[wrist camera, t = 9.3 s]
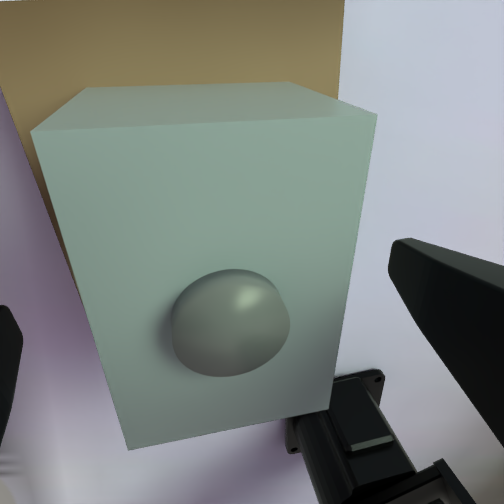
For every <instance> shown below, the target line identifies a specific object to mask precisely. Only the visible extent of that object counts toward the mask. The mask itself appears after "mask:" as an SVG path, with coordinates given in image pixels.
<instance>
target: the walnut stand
mask: <svg viewBox="0 0 504 504" xmlns="http://www.w3.org/2000/svg"><path fill="white" fill-rule="evenodd" d="M344 3H345V0H20V1H0V87H1V90H2V92H3V95H4V98H5V100H6V103H7V106H8V108H9V111H10V114H11V116H12V119H13V121H14V124H15V127H16V129H17V132H18V135H19V137H20V140H21V143H22V145H23V148H24V151H25V153H26V156H27V159H28V161H29V164H30V166H31V169H32V172H33V174H34V177H35V180H36V182H37V185H38V188H39V190H40V193H41V196H42V198H43V201H44V204H45V206H46V209H47V211H48V214H49V217H50V219H51V222H52V225H53V227H54V230H55V233H56V235H57V238H58V241H59V243H60V246H61V248H62V251H63V254H64V256H65V259H66V262H67V264H68V267H69V270H70V272H71V275H72V278H73V280H74V283H75V286H76V288H77V291H78V293H79V296H80V299H81V295H80V292H79V289H78V286H77V282H76V279H75V276H74V273H73V269H72V266H71V263H70V260H69V256H68V253H67V250H66V247H65V243H64V240H63V237H62V234H61V230H60V227H59V224H58V221H57V217H56V214H55V211H54V208H53V204H52V201H51V198H50V195H49V191H48V188H47V185H46V182H45V178H44V175H43V172H42V169H41V165H40V162H39V159H38V156H37V152H36V149H35V146H34V143H33V139H32V136H31V133H30V131H32V130H33V129H34V128H35V127H37V126H38V125H39V124H40V123H42V122H43V121H44V120H45V119H47V118H48V117H49V116H51V115H52V114H53V113H54V112H56V111H57V110H58V109H59V108H61V107H62V106H63V105H65V104H66V103H67V102H68V101H70V100H71V99H72V98H73V97H75V96H76V95H77V94H78V93H80V92H81V91H82V90H84V89H85V88H87V87H122V86H156V85H190V84H224V83H259V82H292V83H295V84H297V85H300V86H303V87H305V88H308V89H311V90H313V91H316V92H319V93H321V94H324V95H327V96H329V97H332V98H335V99H337V100H338V90H339V75H340V61H341V46H342V32H343V17H344ZM81 301H82V299H81ZM82 304H83V302H82ZM83 307H84V305H83ZM84 309H85V308H84Z"/></svg>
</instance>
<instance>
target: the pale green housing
mask: <svg viewBox="0 0 504 504" xmlns="http://www.w3.org/2000/svg"><path fill="white" fill-rule="evenodd" d="M376 121H377V114H375V113H372V112H369V111H367V110H364V109H361V108H359V107H356V106H353V105H351V104H348V103H345V102H343V101H340V100H337V99H335V98H332V97H329V96H327V95H324V94H321V93H319V92H316V91H313V90H311V89H308V88H305V87H303V86H300V85H297V84H295V83H292V82H259V83H224V84H190V85H156V86H122V87H87V88H85V89H84V90H82V91H81V92H80V93H78V94H77V95H76V96H75V97H73V98H72V99H71V100H70V101H68V102H67V103H66V104H65V105H63V106H62V107H61V108H59V109H58V110H57V111H56V112H54V113H53V114H52V115H51V116H49V117H48V118H47V119H45V120H44V121H43V122H42V123H40V124H39V125H38V126H37V127H35V128H34V129H33V130H32V131H30V133H31V136H32V139H33V143H34V146H35V149H36V152H37V156H38V159H39V162H40V165H41V169H42V172H43V175H44V178H45V182H46V185H47V188H48V191H49V195H50V198H51V201H52V204H53V208H54V211H55V214H56V217H57V221H58V224H59V227H60V230H61V234H62V237H63V240H64V243H65V247H66V250H67V253H68V256H69V260H70V263H71V266H72V269H73V273H74V276H75V279H76V282H77V286H78V289H79V292H80V295H81V299H82V302H83V305H84V308H85V312H86V315H87V318H88V321H89V325H90V328H91V331H92V334H93V338H94V341H95V344H96V347H97V351H98V354H99V357H100V360H101V364H102V367H103V370H104V373H105V377H106V380H107V383H108V386H109V390H110V393H111V396H112V399H113V403H114V406H115V409H116V412H117V416H118V419H119V422H120V425H121V429H122V432H123V435H124V438H125V442H126V445H127V448H128V451H129V450H134V449H138V448H143V447H148V446H153V445H158V444H162V443H167V442H172V441H177V440H182V439H187V438H191V437H196V436H201V435H206V434H211V433H216V432H220V431H225V430H230V429H235V428H240V427H245V426H249V425H254V424H259V423H264V422H269V421H273V420H278V419H283V418H288V417H293V416H298V415H302V414H307V413H312V412H317V411H322V410H327V409H329V403H330V397H331V391H332V385H333V379H334V373H335V367H336V361H337V355H338V349H339V343H340V337H341V331H342V325H343V319H344V313H345V307H346V301H347V295H348V289H349V283H350V277H351V271H352V265H353V259H354V253H355V247H356V241H357V235H358V229H359V223H360V217H361V211H362V205H363V199H364V193H365V187H366V181H367V175H368V169H369V163H370V157H371V151H372V145H373V139H374V133H375V127H376Z"/></svg>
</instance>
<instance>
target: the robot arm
mask: <svg viewBox="0 0 504 504" xmlns="http://www.w3.org/2000/svg"><path fill="white" fill-rule="evenodd" d="M388 273H389V276H390V278H391V280H392V282H393V284H394V285H395V287H396V289H397V291H398V293H399V294H400V296H401V298H402V300H403V302H404V303H405V305H406V307H407V309H408V311H409V312H410V314H411V316H412V318H413V319H414V321H415V323H416V324H417V326H418V327H419V329H420V330H421V332H422V333H423V335H424V336H425V337H426V339H427V340H428V342H429V343H430V344H431V346H432V347H433V349H434V350H435V351H436V353H437V354H438V356H439V357H440V359H441V360H442V361H443V363H444V364H445V366H446V367H447V368H448V370H449V371H450V373H451V374H452V375H453V377H454V378H455V380H456V381H457V383H458V384H459V385H460V387H461V388H462V390H463V391H464V392H465V394H466V395H467V397H468V398H469V399H470V401H471V402H472V404H473V405H474V406H475V408H476V409H477V411H478V412H479V414H480V415H481V416H482V418H483V419H484V421H485V422H486V423H487V425H488V426H489V428H490V429H491V430H492V432H493V433H494V435H495V436H496V438H497V439H498V440H499V442H500V443H501V445H502V446H503V447H504V266H502V265H499V264H496V263H492V262H489V261H486V260H483V259H479V258H476V257H473V256H469V255H466V254H463V253H459V252H456V251H453V250H449V249H446V248H443V247H440V246H436V245H433V244H430V243H426V242H423V241H420V240H416V239H413V238H405V239H399V240H395V241H394V242H393V244H392V247H391V253H390V258H389V264H388ZM22 347H23V336H22V332H21V330H20V328H19V326H18V324H17V322H16V321H15V319H14V317H13V315H12V313H11V311H10V309H9V308H8V307H7V306H5V305H0V446H1V443H2V439H3V436H4V433H5V429H6V426H7V423H8V419H9V416H10V412H11V408H12V403H13V399H14V393H15V387H16V382H17V376H18V370H19V364H20V358H21V352H22ZM384 381H385V375H384V374H383V372H382V371H381V370H379V369H376V370H372V371H367V372H363V373H358V374H354V375H349V376H345V377H341V378H336V379H333V385H332V391H331V397H330V403H329V409H327V410H322V411H317V412H312V413H307V414H302V415H298V416H293V417H288V418H286V449H287V452H288V453H289V454H295V453H299V452H301V453H302V456H303V459H304V462H305V464H306V467H307V470H308V473H309V476H310V479H311V482H312V485H313V488H314V491H315V494H316V496H317V499H318V502H319V504H476V503H475V501H474V500H473V499H472V497H471V496H470V494H469V493H468V492H467V490H466V489H465V488H464V486H463V485H462V484H461V482H460V481H459V480H458V478H457V477H456V475H455V474H454V473H453V471H452V470H451V469H450V467H449V466H448V465H447V463H446V462H445V461H444V459H443V458H442V459H440V460H437V461H435V462H433V464H434V465H432V466H430V467H428V468H426V469H424V470H422V471H419V472H417V470H416V469H415V467H414V465H413V464H412V462H411V460H410V459H409V457H408V455H407V454H406V452H405V450H404V449H403V447H402V445H401V443H400V442H399V440H398V438H397V437H396V435H395V433H394V432H393V430H392V428H391V427H390V425H389V423H388V422H387V420H386V418H385V416H384V415H383V413H382V411H381V410H380V408H379V405H380V400H381V395H382V391H383V386H384Z"/></svg>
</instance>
